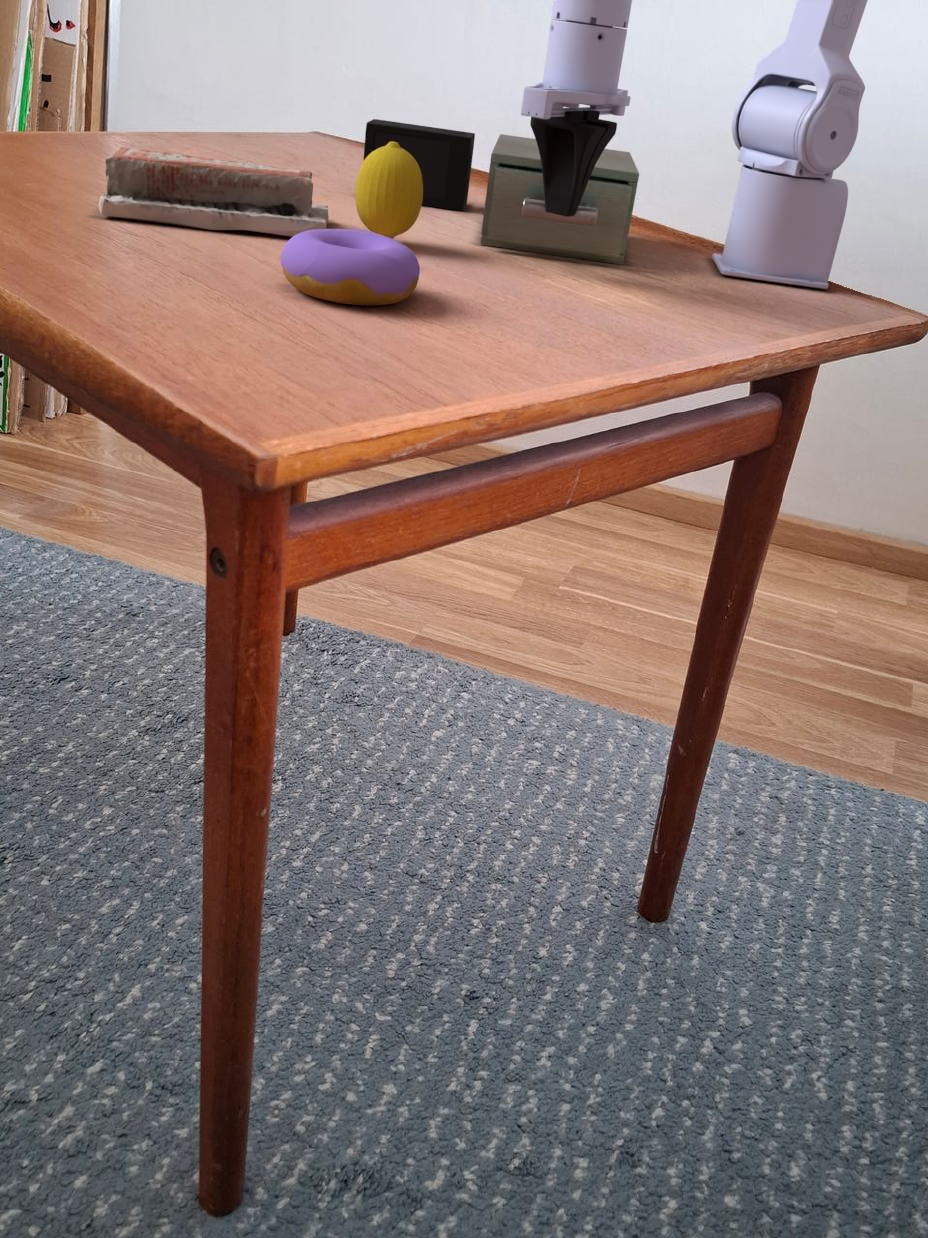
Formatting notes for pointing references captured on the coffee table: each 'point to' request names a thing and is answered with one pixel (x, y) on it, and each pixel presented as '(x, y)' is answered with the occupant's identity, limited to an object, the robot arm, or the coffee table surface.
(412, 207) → the lemon
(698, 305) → the coffee table surface
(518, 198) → the drawer
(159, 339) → the coffee table surface
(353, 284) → the donut
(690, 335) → the coffee table surface
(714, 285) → the coffee table surface
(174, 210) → the weathered stone block
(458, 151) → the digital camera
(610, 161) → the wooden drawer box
